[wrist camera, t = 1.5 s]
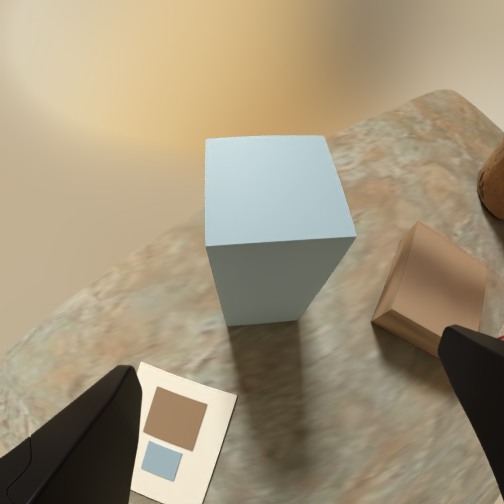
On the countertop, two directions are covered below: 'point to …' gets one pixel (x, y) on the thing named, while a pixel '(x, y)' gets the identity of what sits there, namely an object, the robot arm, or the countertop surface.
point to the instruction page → (178, 436)
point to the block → (493, 182)
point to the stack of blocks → (501, 334)
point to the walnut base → (430, 289)
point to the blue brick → (272, 224)
